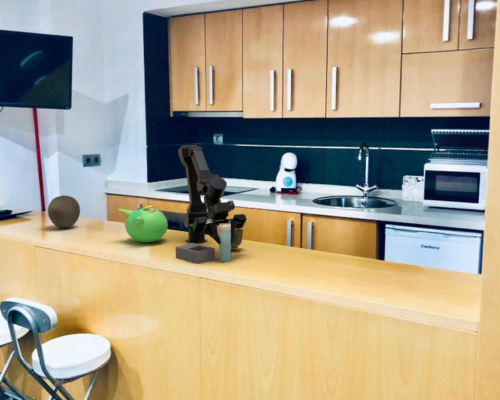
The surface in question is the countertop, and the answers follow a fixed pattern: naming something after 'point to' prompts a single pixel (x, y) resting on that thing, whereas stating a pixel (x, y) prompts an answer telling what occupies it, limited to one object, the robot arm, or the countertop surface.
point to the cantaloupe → (64, 211)
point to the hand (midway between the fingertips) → (226, 243)
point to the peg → (225, 242)
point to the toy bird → (145, 224)
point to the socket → (195, 253)
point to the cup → (237, 239)
